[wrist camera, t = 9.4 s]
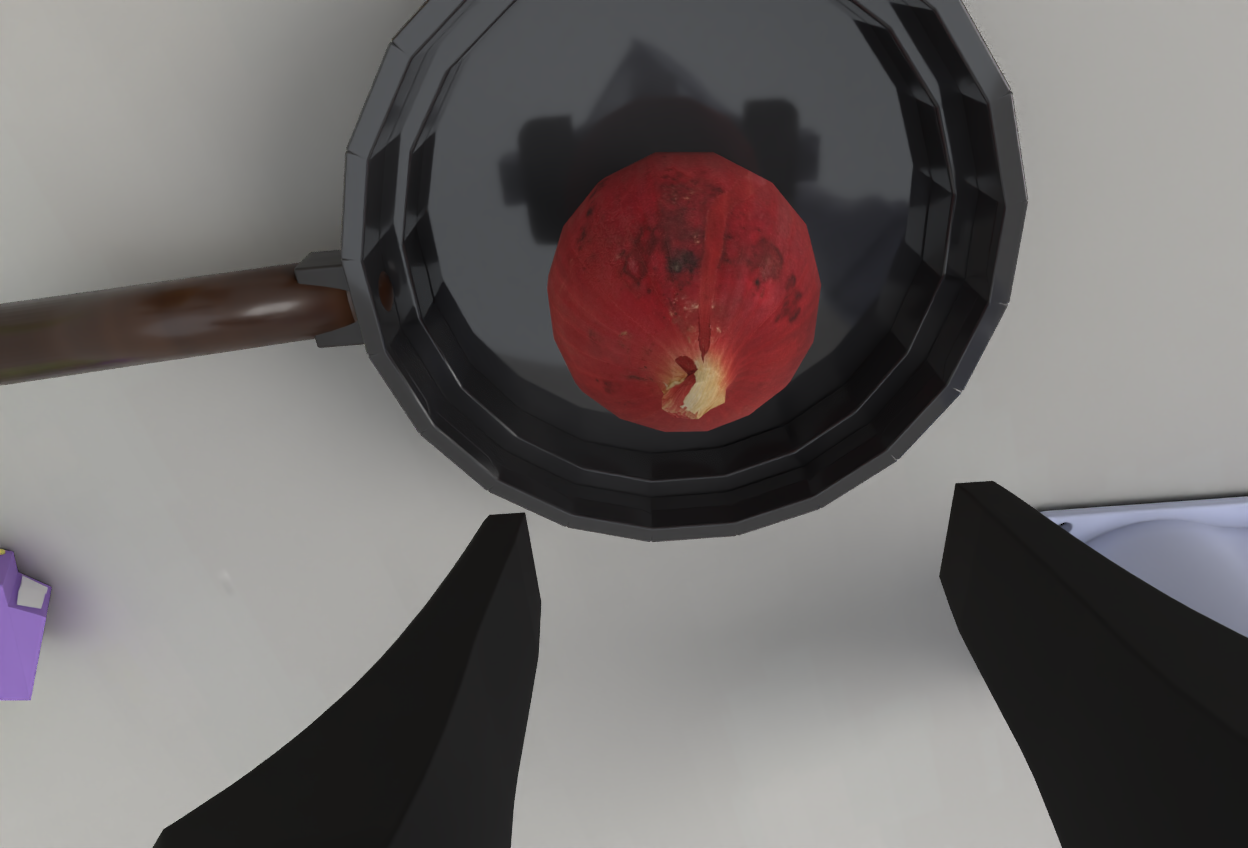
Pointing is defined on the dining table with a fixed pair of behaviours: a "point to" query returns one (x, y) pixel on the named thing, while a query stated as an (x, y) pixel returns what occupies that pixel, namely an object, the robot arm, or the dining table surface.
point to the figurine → (20, 628)
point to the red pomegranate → (683, 292)
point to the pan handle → (181, 319)
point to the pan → (681, 122)
